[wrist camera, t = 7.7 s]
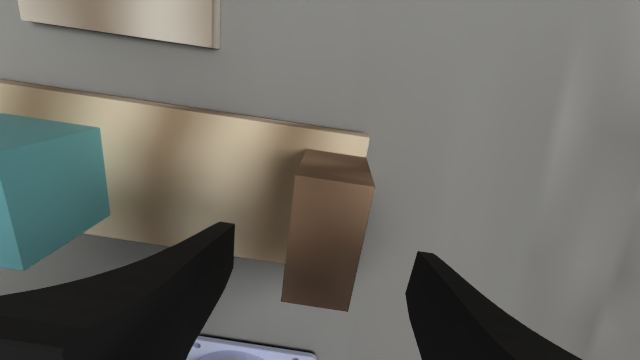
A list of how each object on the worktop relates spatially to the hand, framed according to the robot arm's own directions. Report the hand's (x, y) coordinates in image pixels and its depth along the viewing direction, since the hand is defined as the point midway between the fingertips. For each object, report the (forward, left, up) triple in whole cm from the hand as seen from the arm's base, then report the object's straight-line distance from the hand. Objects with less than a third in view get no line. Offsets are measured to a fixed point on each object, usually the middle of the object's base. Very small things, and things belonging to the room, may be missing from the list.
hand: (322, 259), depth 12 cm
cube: (+14, 0, -5) cm, 15 cm away
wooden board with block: (+8, 0, -6) cm, 10 cm away
